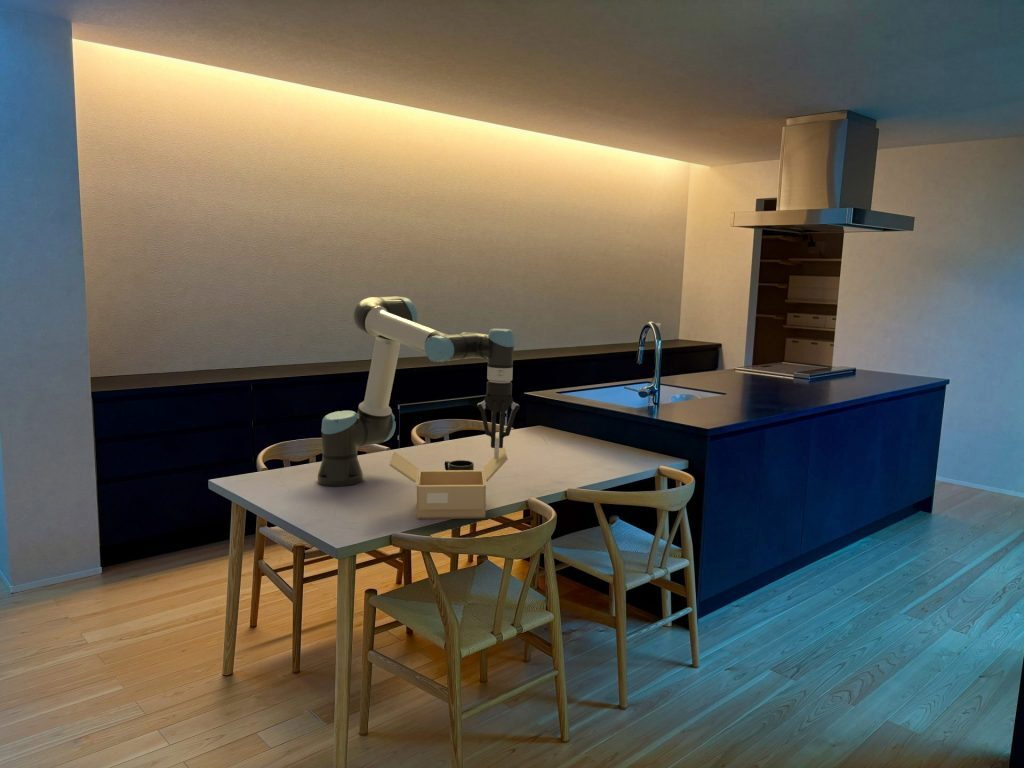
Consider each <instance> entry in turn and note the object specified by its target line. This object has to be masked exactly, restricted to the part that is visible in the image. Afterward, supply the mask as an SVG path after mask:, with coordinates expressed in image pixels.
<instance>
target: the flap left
mask: <svg viewBox="0 0 1024 768" xmlns="http://www.w3.org/2000/svg"><path fill="white" fill-rule="evenodd" d="M389 466H390V467H391V468H392V469H393V470H396V471H397V472H399V473H400V474H401V475H403V476H404V477H406V478H407V479H409V481H412V482H413V483H417V480H418V475H419V467H418V466H416V465H415V464H414V463H412V462H410V461H409V460H408V459H407V458H405V457H403V456H402V455H400V454H399V453H397V452H396V451H393V453H392V455H391V460H390V462H389Z"/></svg>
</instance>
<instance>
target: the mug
mask: <svg viewBox="0 0 1024 768" xmlns="http://www.w3.org/2000/svg"><path fill="white" fill-rule="evenodd" d="M443 465H444V469H445V470H475V469H474V467H475V466H474V465H475V464H474V462H473V461H470V460H467V459H466V460H465V459H464V460H463V459H458V460H452V461H449V460H447V461H445V462H444V464H443Z"/></svg>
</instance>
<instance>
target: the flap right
mask: <svg viewBox="0 0 1024 768" xmlns="http://www.w3.org/2000/svg"><path fill="white" fill-rule="evenodd" d="M508 460H509V458H508V455H507V451H506V449H505V447H504V446H503V447H502V448H499V460H496V459H494V455H493V456H492V457H491V458H490V460H489V461H488V462H487V463H486V464H485V465H484V466H483V471H484V477H485V482H488V481H490V480H491V478H493V476H494V475H495V474H496V473H497V472H498V471H499V470H500V468H501V467H502V466H503V465H504V464H505V463H506V462H507V461H508Z"/></svg>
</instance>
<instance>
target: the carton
mask: <svg viewBox="0 0 1024 768" xmlns="http://www.w3.org/2000/svg"><path fill="white" fill-rule="evenodd" d="M486 484H487V483H486V479H485V473H484V470H481V469H478V470H477V469H474V470H444V469H443V470H441V469H440V470H431V469H430V470H418V474H417V480H416V520H440V519H441V520H443V519H445V520H448V519H450V520H451V519H454V520H455V519H457V520H458V519H460V520H462V519H486V502H487V501H486V499H487V498H486V497H487V495H486V493H487V491H486V486H487V485H486Z"/></svg>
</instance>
